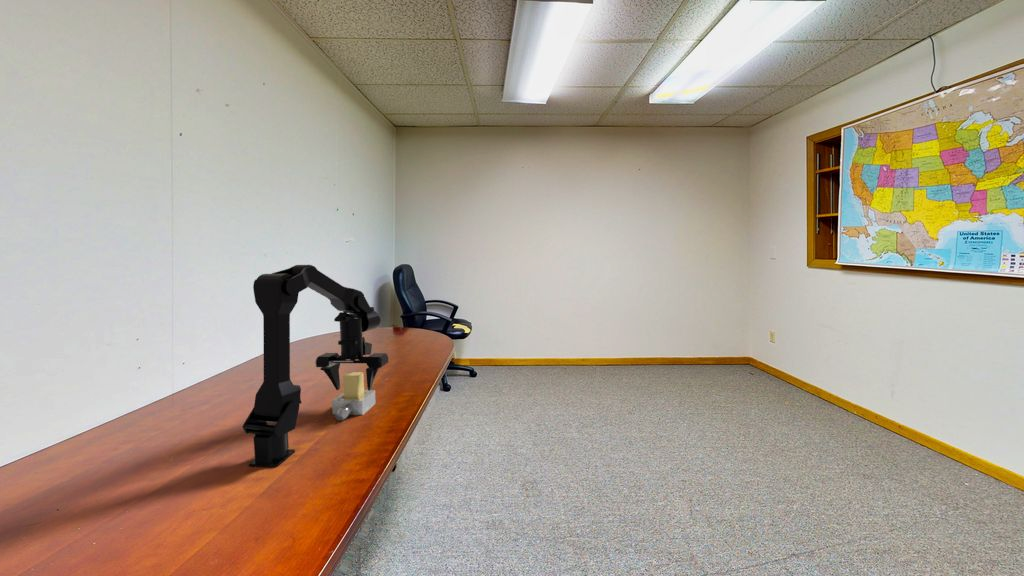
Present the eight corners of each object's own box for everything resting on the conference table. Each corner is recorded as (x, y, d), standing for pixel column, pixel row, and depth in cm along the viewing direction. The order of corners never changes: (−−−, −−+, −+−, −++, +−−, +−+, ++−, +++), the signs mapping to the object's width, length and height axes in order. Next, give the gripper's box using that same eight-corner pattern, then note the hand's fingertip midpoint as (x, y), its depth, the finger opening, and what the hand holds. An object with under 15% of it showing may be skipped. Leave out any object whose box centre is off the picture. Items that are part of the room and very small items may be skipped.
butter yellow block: (358, 411, 112) (356, 376, 111) (344, 411, 112) (342, 376, 111) (364, 406, 116) (363, 372, 115) (351, 406, 116) (349, 372, 115)
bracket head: (356, 421, 105) (355, 406, 105) (324, 420, 106) (324, 405, 106) (381, 398, 122) (380, 385, 122) (353, 398, 122) (353, 385, 122)
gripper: (394, 330, 120) (396, 381, 121) (333, 330, 121) (336, 380, 122) (379, 337, 108) (381, 394, 110) (313, 337, 110) (316, 393, 111)
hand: (353, 389), depth 113 cm, fingers open, 9 cm apart
